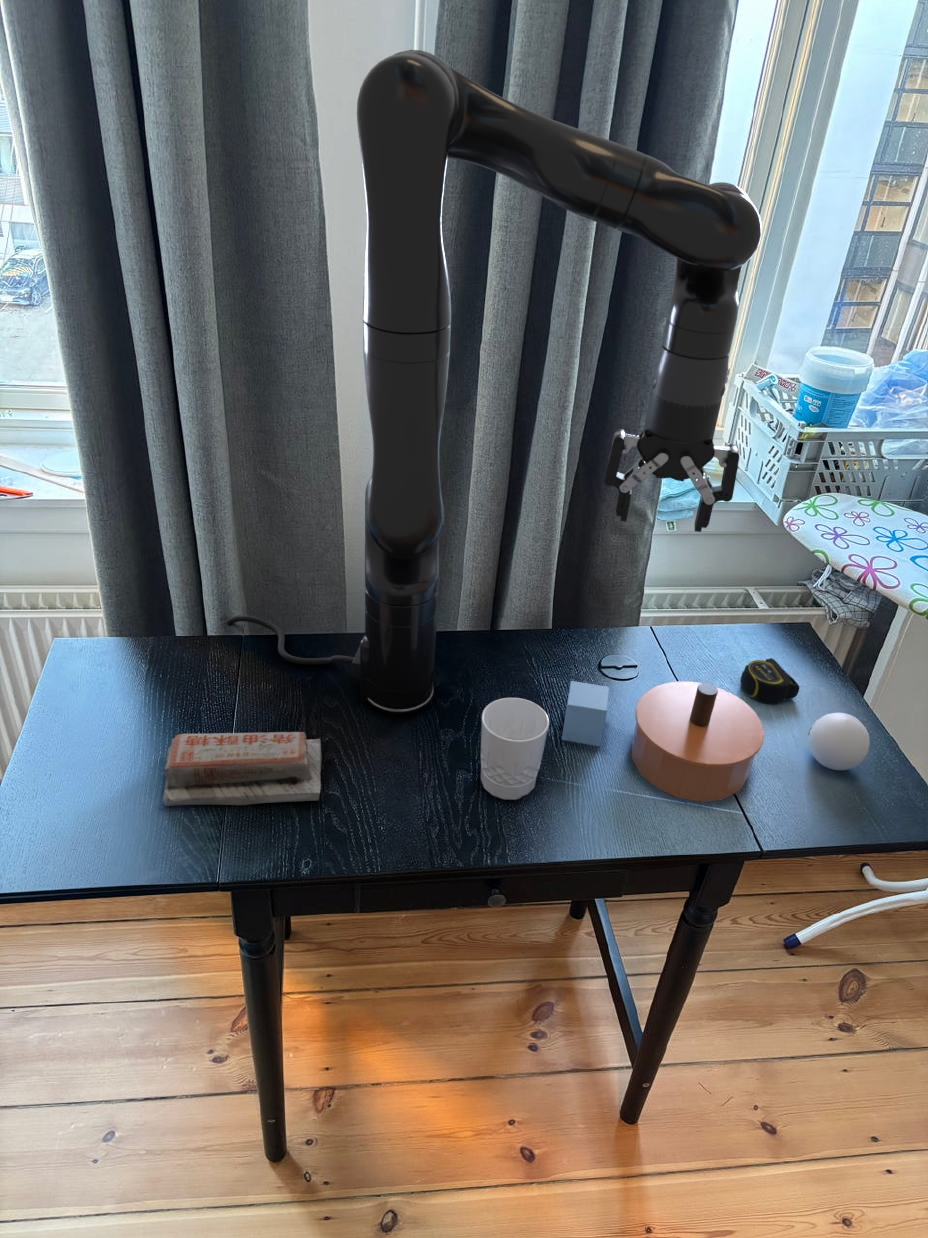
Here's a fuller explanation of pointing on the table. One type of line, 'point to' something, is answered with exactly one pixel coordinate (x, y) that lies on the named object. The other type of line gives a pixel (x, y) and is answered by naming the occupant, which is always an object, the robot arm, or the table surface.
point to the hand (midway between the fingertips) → (660, 523)
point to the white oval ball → (838, 741)
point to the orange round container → (686, 773)
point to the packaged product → (242, 769)
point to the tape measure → (768, 682)
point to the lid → (699, 724)
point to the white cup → (512, 746)
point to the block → (585, 713)
